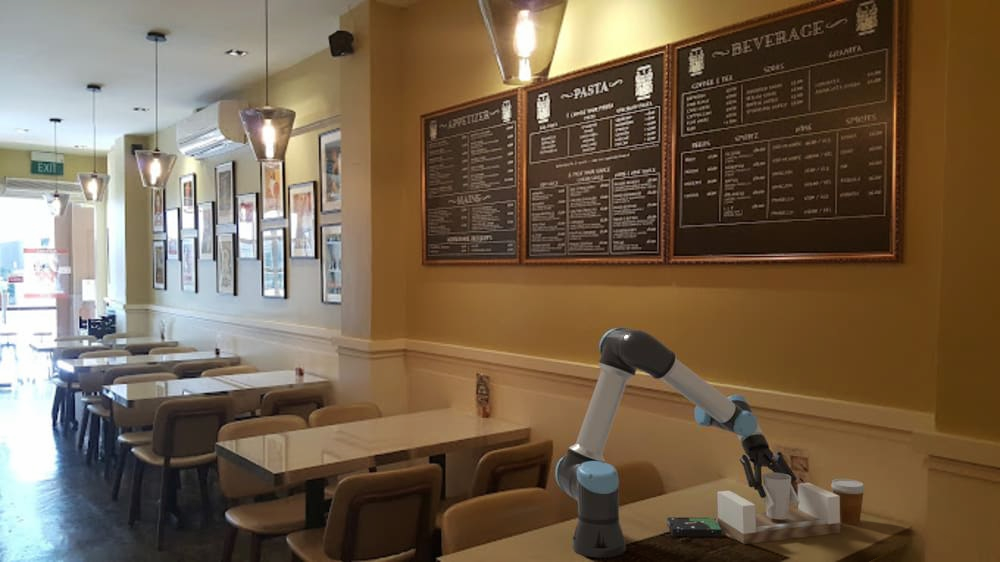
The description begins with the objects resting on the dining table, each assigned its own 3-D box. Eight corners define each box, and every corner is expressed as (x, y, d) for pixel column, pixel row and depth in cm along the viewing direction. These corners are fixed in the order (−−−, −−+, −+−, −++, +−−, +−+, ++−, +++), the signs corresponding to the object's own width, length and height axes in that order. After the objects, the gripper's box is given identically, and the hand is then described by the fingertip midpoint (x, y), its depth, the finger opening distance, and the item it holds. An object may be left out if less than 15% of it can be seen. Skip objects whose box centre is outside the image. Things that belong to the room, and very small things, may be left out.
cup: (758, 515, 212) (758, 476, 212) (771, 509, 217) (770, 470, 217) (784, 522, 206) (783, 481, 206) (796, 515, 211) (795, 475, 211)
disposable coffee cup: (845, 528, 212) (844, 488, 212) (824, 517, 221) (824, 479, 221) (872, 525, 214) (872, 485, 214) (851, 514, 223) (850, 477, 223)
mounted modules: (743, 533, 201) (742, 506, 201) (717, 517, 215) (717, 491, 215) (840, 522, 208) (839, 495, 208) (809, 507, 222) (808, 482, 222)
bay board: (743, 544, 201) (743, 531, 201) (718, 527, 215) (717, 515, 215) (840, 532, 208) (840, 520, 208) (809, 517, 222) (809, 505, 222)
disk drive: (672, 538, 208) (723, 538, 207) (672, 529, 208) (722, 528, 207) (667, 525, 219) (715, 525, 218) (666, 517, 219) (715, 516, 217)
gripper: (776, 443, 229) (809, 508, 213) (718, 448, 224) (748, 514, 208) (786, 430, 223) (820, 496, 208) (727, 435, 219) (758, 502, 203)
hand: (784, 505), depth 208 cm, fingers closed on cup, 8 cm apart
